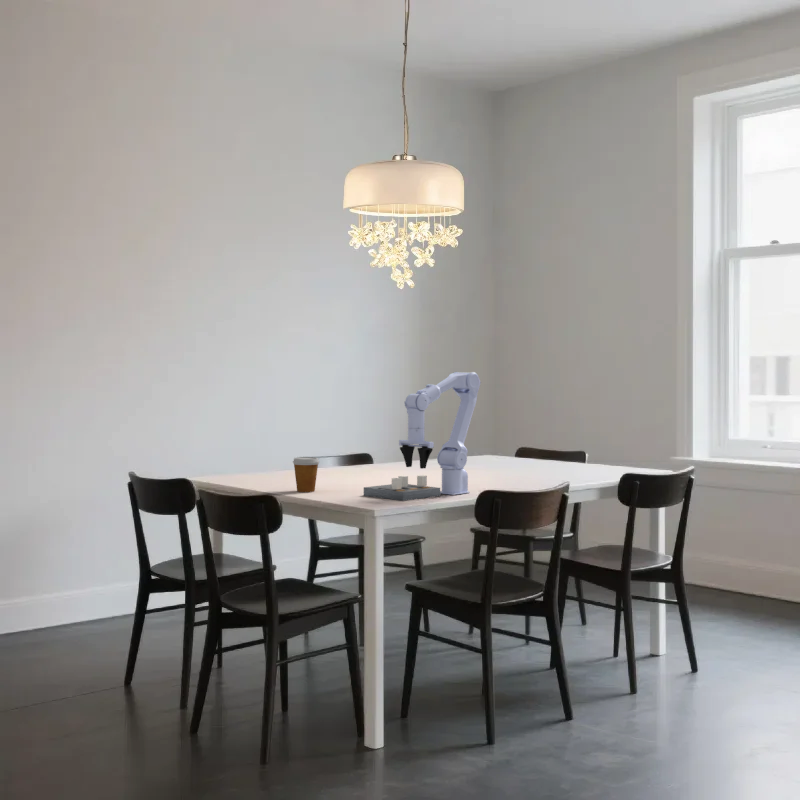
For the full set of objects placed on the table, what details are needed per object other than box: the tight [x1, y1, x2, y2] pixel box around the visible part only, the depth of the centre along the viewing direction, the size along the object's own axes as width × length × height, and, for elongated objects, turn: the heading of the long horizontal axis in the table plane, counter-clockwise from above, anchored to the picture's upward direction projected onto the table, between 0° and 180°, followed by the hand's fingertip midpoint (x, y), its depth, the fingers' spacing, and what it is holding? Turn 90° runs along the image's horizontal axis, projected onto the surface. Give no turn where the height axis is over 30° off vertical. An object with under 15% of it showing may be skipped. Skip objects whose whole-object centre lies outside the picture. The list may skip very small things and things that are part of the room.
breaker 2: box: [416, 474, 428, 486], centre depth 367 cm, size 2×2×4 cm
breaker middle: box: [397, 475, 409, 487], centre depth 364 cm, size 2×2×4 cm
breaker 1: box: [391, 477, 402, 489], centre depth 357 cm, size 2×2×4 cm
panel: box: [363, 483, 441, 502], centre depth 364 cm, size 19×19×3 cm
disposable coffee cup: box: [292, 456, 320, 493], centre depth 375 cm, size 10×10×12 cm
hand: (415, 467), depth 360 cm, fingers open, 6 cm apart
